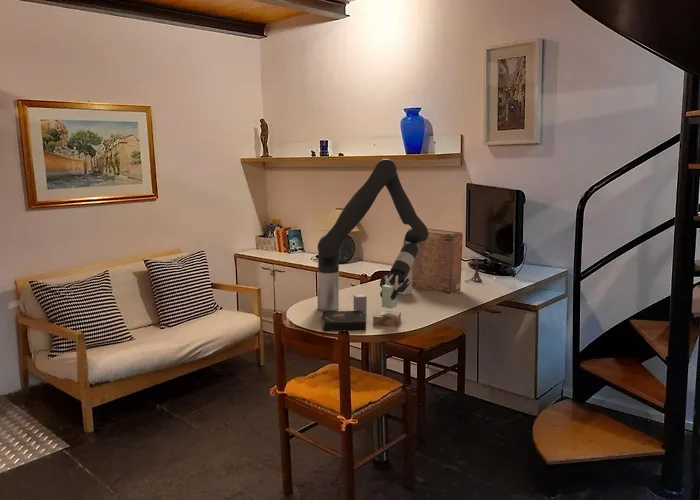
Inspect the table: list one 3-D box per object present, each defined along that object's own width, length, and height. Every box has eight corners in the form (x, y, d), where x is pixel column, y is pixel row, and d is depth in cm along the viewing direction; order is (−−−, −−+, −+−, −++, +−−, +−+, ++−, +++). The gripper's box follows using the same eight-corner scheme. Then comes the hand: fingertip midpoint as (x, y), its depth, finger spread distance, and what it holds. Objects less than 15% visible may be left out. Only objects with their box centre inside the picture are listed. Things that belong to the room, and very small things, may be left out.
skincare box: (412, 293, 301) (413, 262, 299) (404, 295, 296) (405, 264, 294) (399, 290, 307) (399, 260, 304) (391, 292, 302) (391, 262, 299)
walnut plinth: (373, 325, 247) (373, 316, 247) (377, 319, 257) (377, 309, 256) (397, 327, 245) (397, 317, 245) (400, 320, 255) (400, 311, 254)
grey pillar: (356, 317, 258) (356, 297, 257) (353, 314, 263) (353, 294, 261) (366, 316, 259) (366, 296, 258) (363, 314, 264) (363, 294, 262)
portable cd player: (321, 320, 255) (321, 311, 254) (361, 319, 257) (361, 310, 256) (323, 332, 239) (323, 322, 238) (365, 331, 240) (365, 321, 240)
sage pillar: (390, 308, 248) (391, 287, 247) (381, 306, 251) (382, 285, 249) (396, 306, 252) (397, 285, 250) (387, 304, 254) (388, 283, 253)
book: (409, 285, 317) (410, 229, 312) (420, 282, 324) (421, 227, 319) (450, 293, 300) (452, 234, 295) (460, 290, 307) (462, 232, 302)
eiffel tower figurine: (473, 278, 338) (473, 254, 336) (490, 280, 332) (491, 256, 330) (461, 283, 326) (462, 258, 324) (478, 285, 320) (479, 261, 318)
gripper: (385, 257, 258) (369, 290, 251) (414, 261, 250) (398, 295, 242) (392, 267, 263) (376, 300, 256) (420, 272, 255) (404, 305, 247)
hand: (386, 297), depth 249 cm, fingers closed on sage pillar, 4 cm apart
